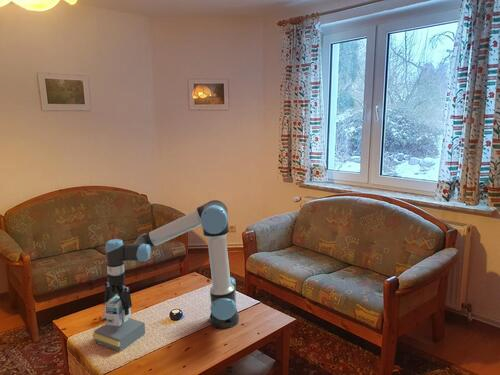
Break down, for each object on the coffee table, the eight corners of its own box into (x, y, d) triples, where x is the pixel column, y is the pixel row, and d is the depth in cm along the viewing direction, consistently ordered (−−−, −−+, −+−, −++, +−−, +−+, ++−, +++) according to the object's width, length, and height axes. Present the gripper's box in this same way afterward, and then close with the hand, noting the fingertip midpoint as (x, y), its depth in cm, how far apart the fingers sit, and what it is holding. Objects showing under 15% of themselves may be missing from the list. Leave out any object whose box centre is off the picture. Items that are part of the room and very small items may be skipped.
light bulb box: (119, 326, 173) (118, 304, 171) (106, 325, 174) (104, 303, 172) (131, 315, 183) (130, 294, 181) (118, 313, 184) (117, 292, 182)
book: (145, 333, 183) (144, 322, 182) (118, 353, 169) (117, 340, 167) (120, 326, 191) (119, 315, 190) (93, 343, 176) (92, 331, 175)
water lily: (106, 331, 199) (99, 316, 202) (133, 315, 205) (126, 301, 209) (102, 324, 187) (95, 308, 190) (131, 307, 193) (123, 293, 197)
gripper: (93, 271, 175) (97, 317, 179) (126, 280, 166) (129, 327, 170) (106, 266, 182) (109, 310, 186) (138, 274, 173) (141, 320, 177)
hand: (119, 318), depth 178 cm, fingers closed on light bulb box, 8 cm apart
